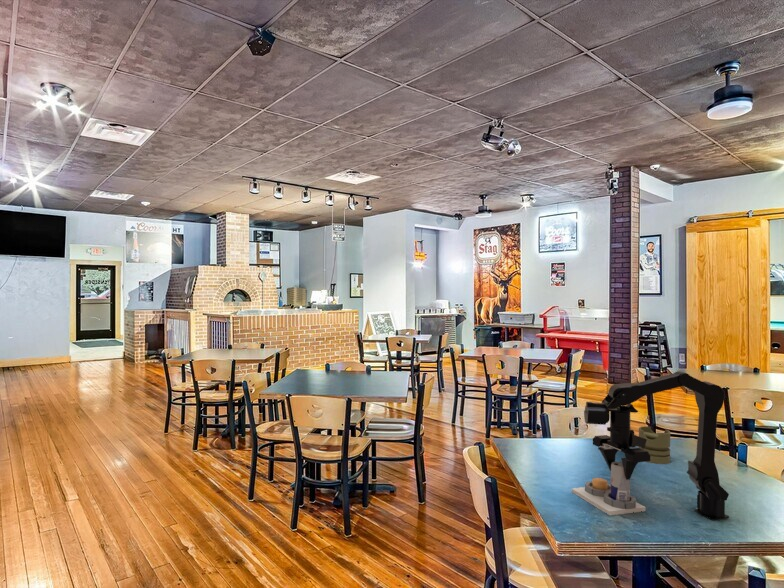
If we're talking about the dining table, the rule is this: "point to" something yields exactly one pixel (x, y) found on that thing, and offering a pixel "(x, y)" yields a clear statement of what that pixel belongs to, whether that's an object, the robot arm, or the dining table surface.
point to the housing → (606, 498)
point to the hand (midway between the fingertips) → (620, 475)
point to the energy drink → (619, 483)
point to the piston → (656, 445)
